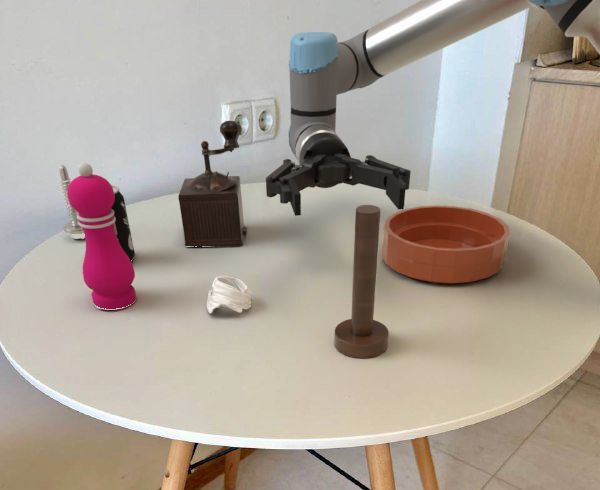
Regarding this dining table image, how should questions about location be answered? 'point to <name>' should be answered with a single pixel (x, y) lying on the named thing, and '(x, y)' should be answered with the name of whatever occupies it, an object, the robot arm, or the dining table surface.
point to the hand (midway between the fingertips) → (350, 202)
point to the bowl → (445, 243)
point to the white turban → (228, 294)
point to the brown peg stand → (363, 292)
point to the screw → (73, 225)
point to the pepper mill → (101, 241)
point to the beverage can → (122, 224)
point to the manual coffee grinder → (214, 200)
